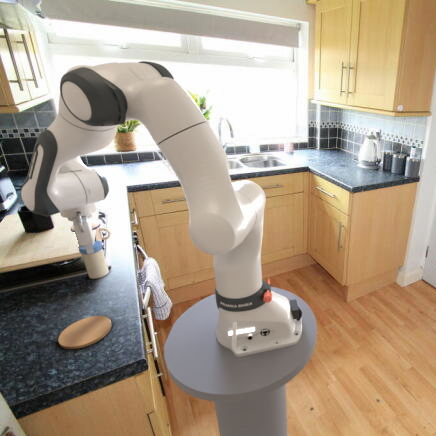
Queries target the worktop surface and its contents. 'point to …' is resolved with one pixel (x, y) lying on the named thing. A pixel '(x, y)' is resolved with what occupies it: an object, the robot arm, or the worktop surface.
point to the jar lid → (96, 247)
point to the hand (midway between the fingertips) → (90, 247)
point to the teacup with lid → (97, 230)
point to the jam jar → (95, 264)
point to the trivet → (85, 332)
